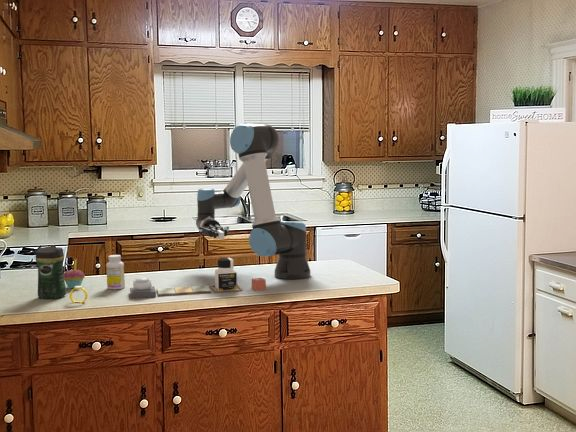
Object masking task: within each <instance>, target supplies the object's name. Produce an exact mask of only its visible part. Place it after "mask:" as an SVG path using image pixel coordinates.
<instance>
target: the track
mask: <svg viewBox="0 0 576 432" xmlns="http://www.w3.org/2000/svg"><path fill="white" fill-rule="evenodd" d="M211 290H212V289H211V288H209V286H208V285H194V286H193V285H192V286H178V287H177V286H176V287H164V288H160V287H159V288H156V294H157V297H169V296H170V297H171V296H185V295H199V294H211V293H212V291H211Z"/></svg>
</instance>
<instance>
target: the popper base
mask: <svg viewBox="0 0 576 432" xmlns="http://www.w3.org/2000/svg"><path fill="white" fill-rule="evenodd" d="M129 294H130V295H129V296H130V299H132V300H133V299H143V298H144V299H145V298H156V297H157V290H156V288H155V286H152V288H150V289H145V290H136V289H134V288H133V287H129Z"/></svg>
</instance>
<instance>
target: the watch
mask: <svg viewBox="0 0 576 432" xmlns="http://www.w3.org/2000/svg"><path fill="white" fill-rule="evenodd" d="M75 290H81V291H83V293H84V296H85V298H84V300H82V301H81V300H79V301H76V300H75V299H74V298H73V292H74V291H75ZM88 296H89V295H88V291H87V290H86V288H84V287H83V286H82V285H81V286H75V287H74V289H71V291H69V299H70V300H71V302H72V303H74V302H80V303H79V304H83V303H85V301H87V299H88Z"/></svg>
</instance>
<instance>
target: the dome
mask: <svg viewBox="0 0 576 432" xmlns="http://www.w3.org/2000/svg"><path fill="white" fill-rule="evenodd" d="M132 282H133V283H132V285H133V287H132V288H134V289H136V290H145V289H150V288H152V287H153V286H152V285H153V283H152V280H151V279H150V278H149V277H137V278H134V280H133V281H132Z"/></svg>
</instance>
